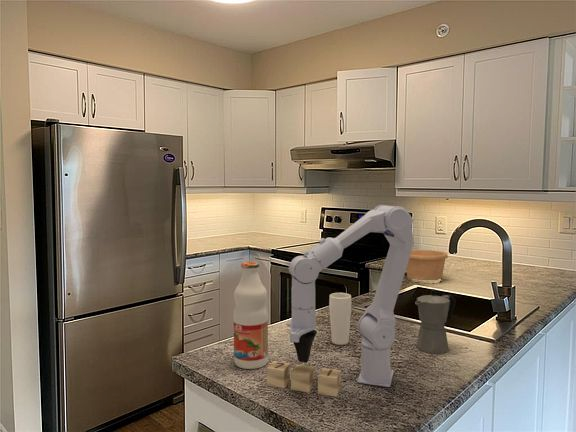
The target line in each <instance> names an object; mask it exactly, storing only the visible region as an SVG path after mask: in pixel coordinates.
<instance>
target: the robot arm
mask: <svg viewBox="0 0 576 432" xmlns="http://www.w3.org/2000/svg"><path fill="white" fill-rule="evenodd" d="M413 223H414V219H413V217H412V215H411V214H410V213H409V211H408V210H407V209H406V208H405V207H403V206H398V205H397V206H392V205H386V204H379V205H377V206H376V207H375V208H373V209H371V210H369V211H367V212H366V213H365V214H364V215H363V216H362V217H360V218H359V219H358V220H357V221H355V222H353V224H351V225H350V226H349V227H347V228H346V229H345V230H344V231H342V232H340V234H339V235H337V236H336V237H326V238H324V237H321V238H320V239H318V242H319V243H317V244H316V245H315V246H313V247H312V248H311V249H309V250H304V251H303V252H302V253H303V255H298V256H295V257H294V258H292V260H291V262H290V264H289V266H288V271H289V274H290V275H291V321H288V322H286V326H287V327H289V328H290V333H289V342H290V343H293V346H294V348H295V352H296V355H297V360H298V362H300V363H305V364H306V363H307V364H308V362H309V359H310V356H311V355H310V354H311V351H312V346H313V342H314V340H315V337H316V335H317V334H318V333H317V332H318V331H317V330H316V329H317V323H316V280H317V279H318V277H319V274H320V272H323V270H325V269H326V268H328V267H329V266H330V265H332V264H333V263H334V262H336V261H338V259H340V258H342V256H343V252H344V249H346V248H348V247H349V246H351V245H352V244H354V243H355V242H357V241H358V240H360V239H362V238H363V237H364V236H366V235H368V234H369V233H376V232H378V233H379V232H380V233H382V234H383V235H384V237H385V238H386V240H387V242H388V243H389V248H388V251H387V254H386V256H385V260H384V261H385V262H384V264H383V267H382V271H381V273H380V277H379V281H378V284H377V288H376V290H375V293H374V296H373V299H372V303H371V304H369V305H368V306H367V307H365V308H366V309H365V311H364V314H363V315H362V316H361V317H360V318H359V320H358V323H357V330H358V332H359V334H360V335H361V337H362V339H361V346H360V349H361V351H360V352H361V354H360V355H361V356H360V357H361V358H360V361H361V362H360V363H361V364H360V373H359V375H358V377H357V381H356V382H357V383H358V384H359V383H360V384H365V385H371V386H379V387H385V388H390V387H391V384H392V380H393V375H394V369H391V346H392V345H393V344H394V341H395V339H396V325H397V320H396V316H395V314H394V313H395V312H394V309H395V305H396V302H397V299H398V297H399V293H400V289H401V287H402V283H403V280H404V277H405V274H406V272H407V269H406V267H407V264H408V261H409V258H410V254H411V251H412V250H413V248H414V245H415V244H414V242H415V241H414V234H413V229H412V225H413Z"/></svg>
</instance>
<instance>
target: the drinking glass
mask: <svg viewBox="0 0 576 432" xmlns="http://www.w3.org/2000/svg"><path fill="white" fill-rule="evenodd" d="M328 300H329V301H328V302H329V303H328V305H329V306H328V308H329V320H330V330H331V331H330V332H331V333H330V334H331V342H332V344H334V345H336V346H344V345H347V344H349V342H350V341H349V340H350V339H349V338H350V328H351V317H352V316H351V315H352V295H351V294H349V293H345V292H334V293H331V294H329V299H328Z"/></svg>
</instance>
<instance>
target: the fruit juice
mask: <svg viewBox="0 0 576 432" xmlns="http://www.w3.org/2000/svg"><path fill="white" fill-rule="evenodd" d="M240 269H241V271H242V273H241V276H240V280H239V282H238V284H237V286H236V288H235V289H234V292H233V300H234V304H235V307H234V309H233V361H234V364H235V366H237V368H241V369H245V370H254V369H255V370H256V369H259V368H262V367H264V366H266V365H267V363H268V360H269V326H268V325H269V321H268V320H269V314H268V309H267V305H266V303H267V300H268V299H267V298H268V292H267V289H266V287H265V285H263V283H262V281H261V277H260V274H259V269H260V262H257V261H244V262H241V264H240Z"/></svg>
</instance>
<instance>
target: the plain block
mask: <svg viewBox="0 0 576 432" xmlns="http://www.w3.org/2000/svg"><path fill="white" fill-rule="evenodd" d="M314 386H315V366H310V365H305V364H304V365H303V364H296V365H295V367H294V368H293V369H292V370H290V389H291V391H297V392H303V393H304V392H305V393H310V392H311V390H312V389H313V387H314Z"/></svg>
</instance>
